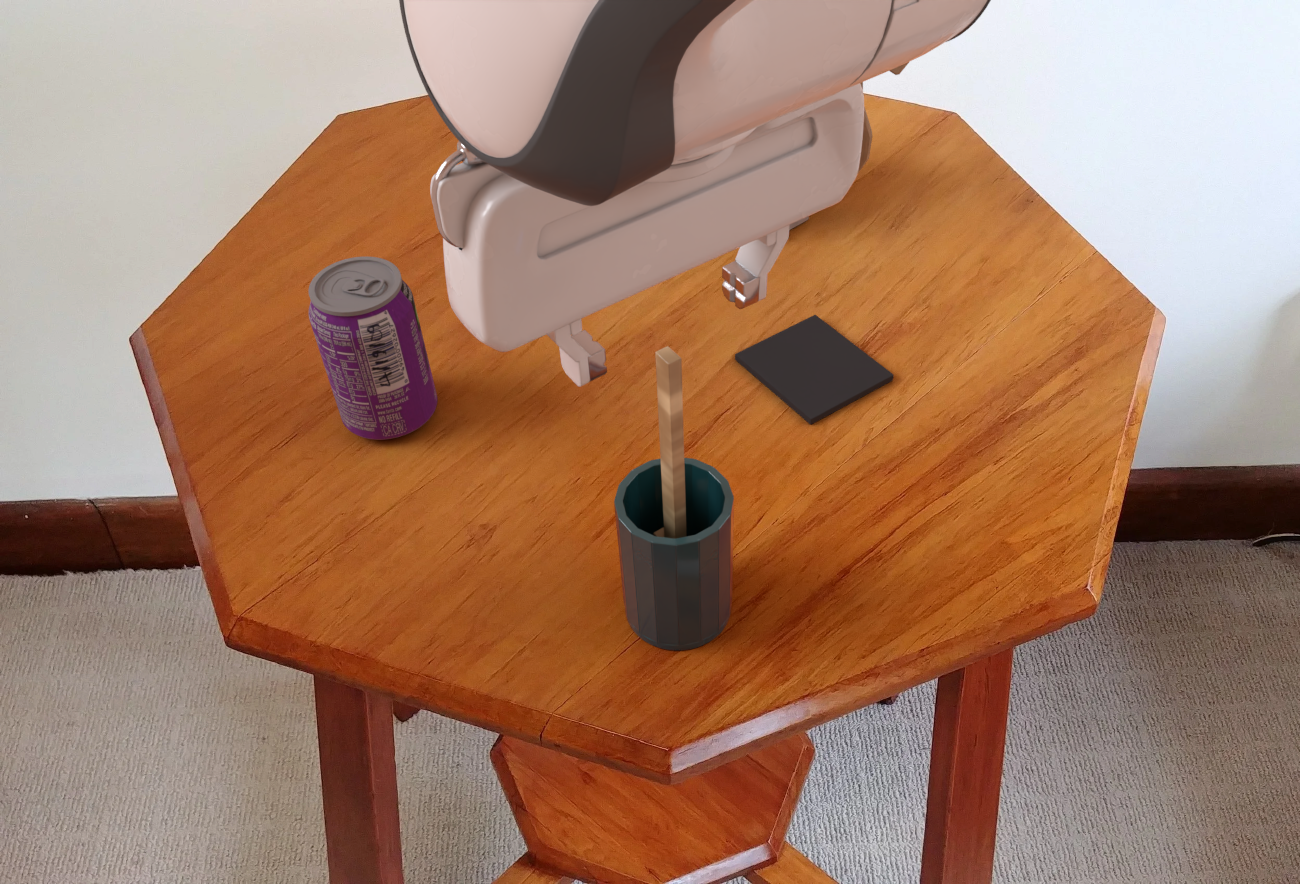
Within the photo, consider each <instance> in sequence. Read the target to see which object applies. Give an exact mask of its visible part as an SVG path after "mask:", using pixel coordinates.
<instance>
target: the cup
mask: <svg viewBox="0 0 1300 884" xmlns="http://www.w3.org/2000/svg"><path fill="white" fill-rule="evenodd" d="M684 465H685V500H686V537H681V538H676V539H675V538H666V537H658V536H654V532H656V531H658V530H659V529H661V528H663V527H664V518H663V498H662V478H661V458H660V457H659V458H656V459H655V458H654V459H651V460H648V461H646V462H644V463H642V464H641V465H638V466H636V467H635V468H632V469H631V470H630V471H629V472H628V473H627V475H625V477H624V478H623V479H622V480H621V481H620V482H619V484H618V486H617V490H616V493H615V496H614V501H613V504H614V515H615V525H616V526H615V528H616V535H617V546H618V548H617V549H618V558H619V565H620V568H619V569H620V577H621V587H622V588H621V589H622V598H623V605H624V611H625V618H626V621H627V623H628V625H629V627H630V628H631V630H632V631H633V632H634V633H635V634H636V636H637V637H639V638H640V639H641V640H642V641H644V642H646V643H647V644H649V645H651V646H653V647H656V648H659V649H662V650H666V651H677V652H678V651H688V650H693V649H697V648H699V647H702V646H705V645H707V644H708V643H710V642H712V641H714V640H715V639H716V638H717V637H718V636H719V635H721V633H722V632H723V631H724V629H725V628H726V626H727V624H728V623H729V620H730V617H731V613H732V603H733V582H734V581H733V578H734V576H733V573H734V566H733V565H734V522H735V520H734V519H735V517H734V516H735V507H734V506H735V496H734V493H733V491H732V488H731V485H730V482H729V480H728V479H727V478H726V477H725V476H724V475H723V474H722V473H721V472H720V471H719V470H718V469H717V468H715V467H714V466H713V465H710V464H709V463H705V462H703V461H701V460H699V459H696V458H694V457H693V458H691V457H684Z"/></svg>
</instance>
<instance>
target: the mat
mask: <svg viewBox="0 0 1300 884" xmlns="http://www.w3.org/2000/svg"><path fill="white" fill-rule="evenodd" d="M734 360H735V362H737V363H738V364H739V365H740V366H742V367H743V368H744V370H746V371H748V373H750V374H751V376H753V377H754V378H755V379H756V380H758V381H759V382H760V383H761V384H762V385H764V386H765V387H766V388H767V389H768V390H769V391H771V392H772V393H773V395H776V397H778V398H779V399H780V400H781V401H782V402H783V403H784V404H786V405H787V406H788V407H789V408H790V409H791V410H793V411H794V412H795V413H796V414H798V415H799V416H800V417H801V418H802V419H803V420H804V421H806V423H808V424H809V425H813V424H815V423H817V422H818V421H821V420H822V419H824V418H826V417H828V416H830V415H832V414H834V413H835V412H837V411H839V410H841V409H843V408H845V407H847V406H848V405H851V404H852V403H853V402H856V401H857V400H860V399H862V398H864V397H865V396H867V395H869V394H870V393H873V392H875V391H876V390H878V389H880V388H881V387H884V386H885V385H887V384H889V383H891V382H892V381H894V377H895V374H894V373H892V372H891V371H890V370H889V369H888V368H886V367H884V366H883V365H882V364H880V363H879V362H878V361H877V360H875V359H874V358H873V357H871V356H870V355H869V354H868V353H866V352H865V351H864V350H862V349H861V348H860V347H858V346H857V345H856V344H854V343H853V342H852V341H850V340H849V339H848V338H847V337H845V336H844V335H843V334H841V333H840V332H839V331H838V330H836V329H835V328H834V327H832V326H831V325H830V324H829V323H827V322H826V321H824V320H823V319H822V318H820V317H819V316H818V315H816V314H813V315H811V316H809V317H807V318H805V319H803V320H801V321H799V322H797V323H795V324H793V325H791V326H789V327H787V328H785V329H783V330H780V331H778V332H777V333H774V334H773V335H771V336H768V337H767V338H764V339H763V340H761V341H759V342H756V343H754V344H752V345H750V346H749V347H746V348H744V349H742V350H740V351H738V352H736V353H734Z"/></svg>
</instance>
